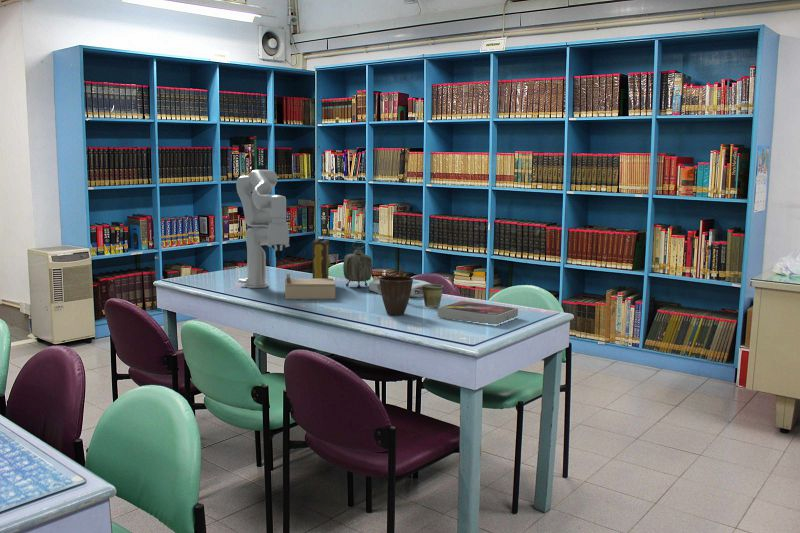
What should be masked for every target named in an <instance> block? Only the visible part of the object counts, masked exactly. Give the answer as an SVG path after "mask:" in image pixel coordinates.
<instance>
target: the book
mask: <svg viewBox="0 0 800 533" xmlns="http://www.w3.org/2000/svg"><path fill="white" fill-rule="evenodd" d="M321 240H322V238H317V239H315V240H313V242H312V278H326V279H329V267H330V265H331V263H332V262H331V259H330V257H329V256H330V254H329V253H330V252H329V251H330V250H329V249H330V239H329V238H325V239H324V240H323V241H321Z"/></svg>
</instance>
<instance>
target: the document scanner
mask: <svg viewBox="0 0 800 533" xmlns="http://www.w3.org/2000/svg"><path fill="white" fill-rule="evenodd" d="M424 284H431V282H428V281H425V280H421V279H414V278H413V283H412V289H411V293H410V297H409V298H419V297H424V295H423V289H422V285H424ZM418 288H421V289H418ZM368 290H370V291H372V292H374V293H376V294H380V295H382V294H381V289H380V281H379V278H378V279H377V278H376V279H374V280H371V281H370V282H369V283H368ZM416 292H417V293H416Z"/></svg>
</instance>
